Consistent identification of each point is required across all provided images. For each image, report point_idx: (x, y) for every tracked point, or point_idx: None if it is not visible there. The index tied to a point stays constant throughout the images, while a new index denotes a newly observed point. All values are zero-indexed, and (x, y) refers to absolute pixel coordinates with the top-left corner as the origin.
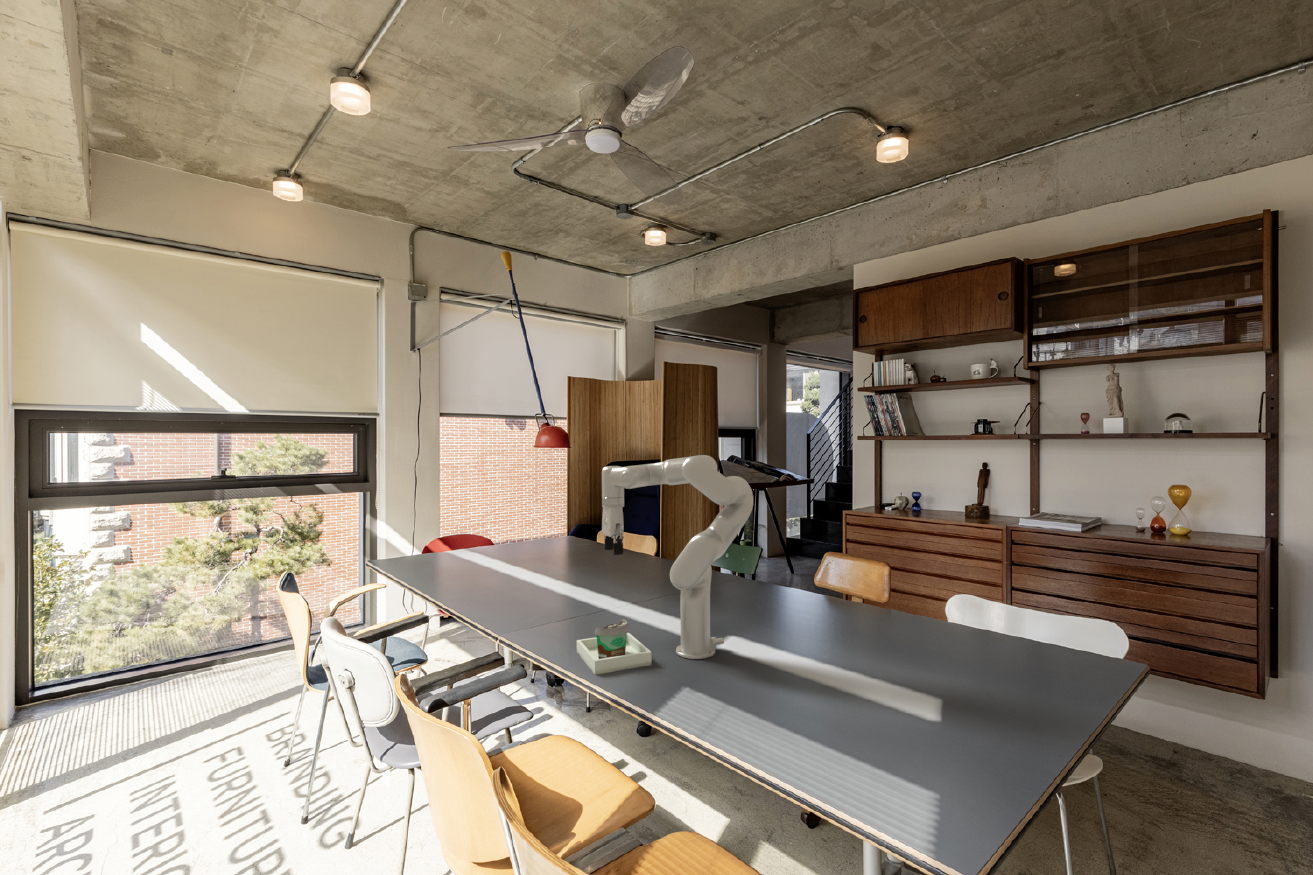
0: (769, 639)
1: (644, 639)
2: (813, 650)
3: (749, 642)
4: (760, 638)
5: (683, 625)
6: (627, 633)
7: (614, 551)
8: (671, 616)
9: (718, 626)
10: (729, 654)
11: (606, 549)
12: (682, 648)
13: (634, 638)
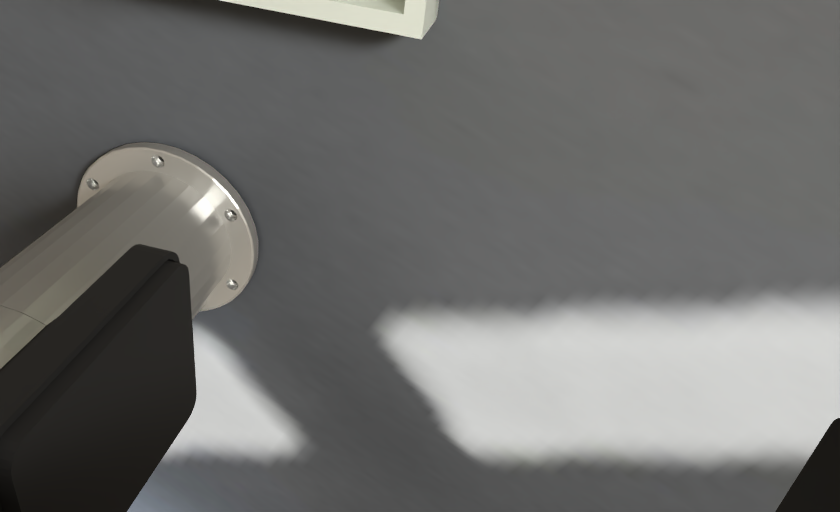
0: (200, 497)
1: (464, 143)
2: None
3: (199, 438)
4: (222, 487)
5: (63, 236)
6: (411, 22)
7: (96, 288)
8: (704, 456)
9: (426, 488)
10: None
11: (832, 433)
12: (149, 177)
13: (297, 8)
